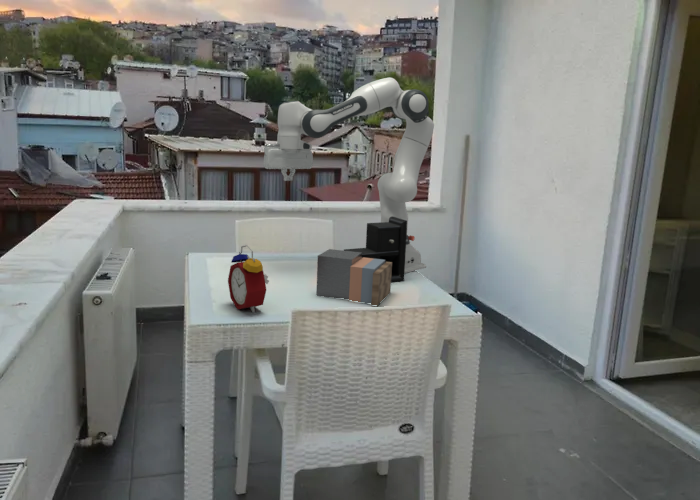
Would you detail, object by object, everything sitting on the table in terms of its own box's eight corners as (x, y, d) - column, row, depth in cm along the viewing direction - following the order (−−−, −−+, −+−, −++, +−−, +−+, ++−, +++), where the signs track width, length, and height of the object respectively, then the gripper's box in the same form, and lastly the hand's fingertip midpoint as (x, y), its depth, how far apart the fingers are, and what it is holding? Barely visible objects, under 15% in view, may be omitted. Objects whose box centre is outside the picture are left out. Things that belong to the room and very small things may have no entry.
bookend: (350, 286, 205) (353, 222, 200) (337, 279, 214) (339, 217, 209) (404, 281, 215) (408, 220, 210) (390, 274, 225) (393, 216, 220)
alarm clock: (227, 303, 179) (227, 241, 175) (252, 299, 184) (252, 239, 180) (247, 316, 167) (247, 250, 163) (273, 312, 172) (274, 248, 168)
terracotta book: (361, 290, 201) (363, 257, 198) (372, 291, 200) (374, 258, 197) (348, 301, 187) (350, 266, 184) (360, 303, 186) (362, 267, 183)
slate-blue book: (372, 291, 200) (374, 258, 197) (383, 293, 199) (385, 259, 196) (360, 303, 186) (362, 267, 183) (372, 304, 185) (374, 269, 182)
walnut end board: (384, 291, 200) (386, 261, 198) (390, 292, 199) (392, 262, 197) (371, 305, 183) (373, 273, 181) (377, 306, 182) (379, 273, 180)
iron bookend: (328, 287, 203) (329, 249, 200) (360, 291, 199) (362, 252, 196) (316, 295, 192) (317, 255, 189) (350, 300, 188) (352, 259, 185)
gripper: (268, 144, 207) (268, 181, 210) (315, 145, 219) (314, 181, 222) (260, 143, 212) (260, 180, 215) (306, 144, 224) (305, 179, 227)
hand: (288, 180), depth 219 cm, fingers closed
